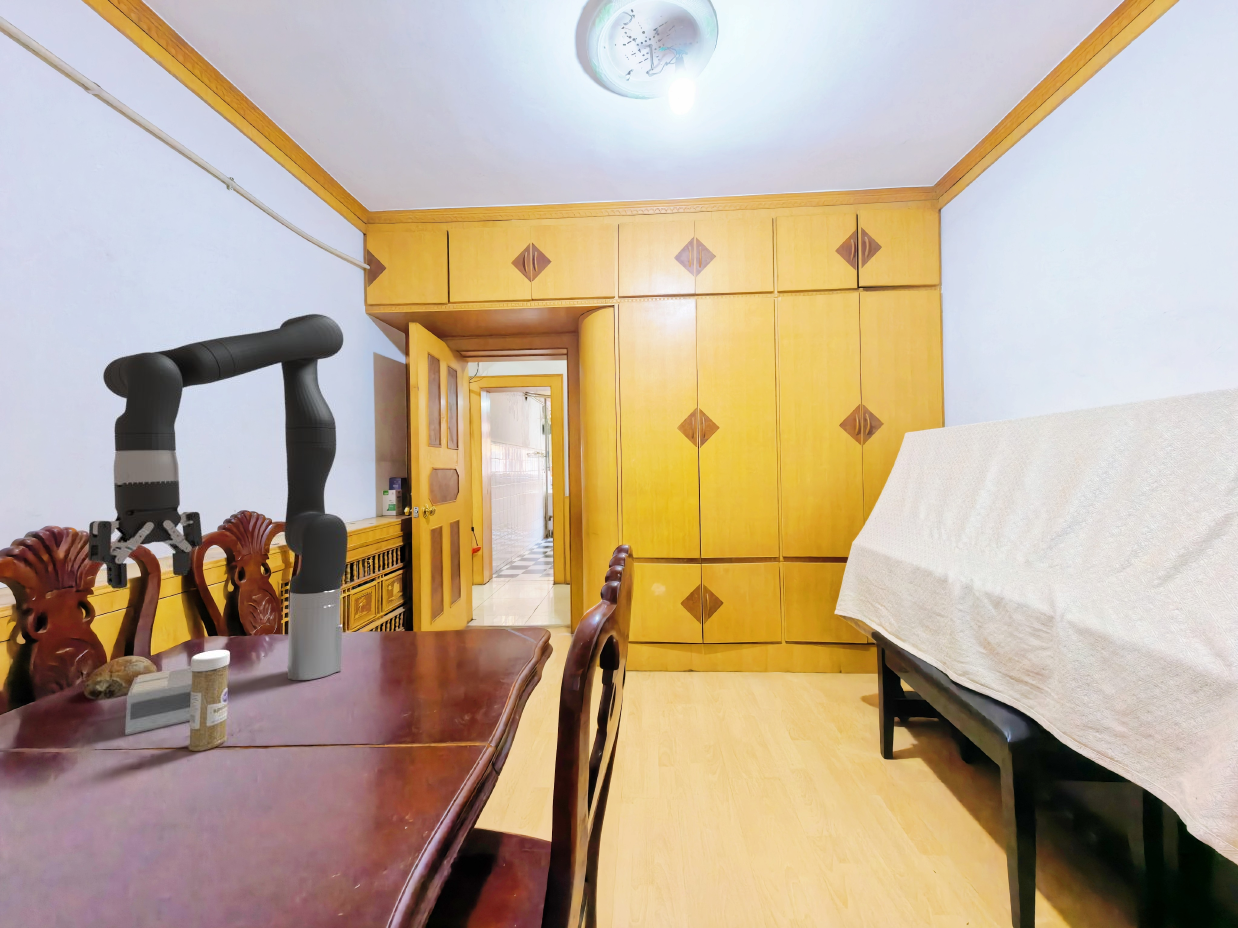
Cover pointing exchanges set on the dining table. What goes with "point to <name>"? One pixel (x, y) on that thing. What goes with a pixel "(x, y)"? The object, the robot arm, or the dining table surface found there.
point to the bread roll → (117, 677)
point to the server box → (158, 700)
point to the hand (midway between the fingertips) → (151, 581)
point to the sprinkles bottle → (208, 699)
